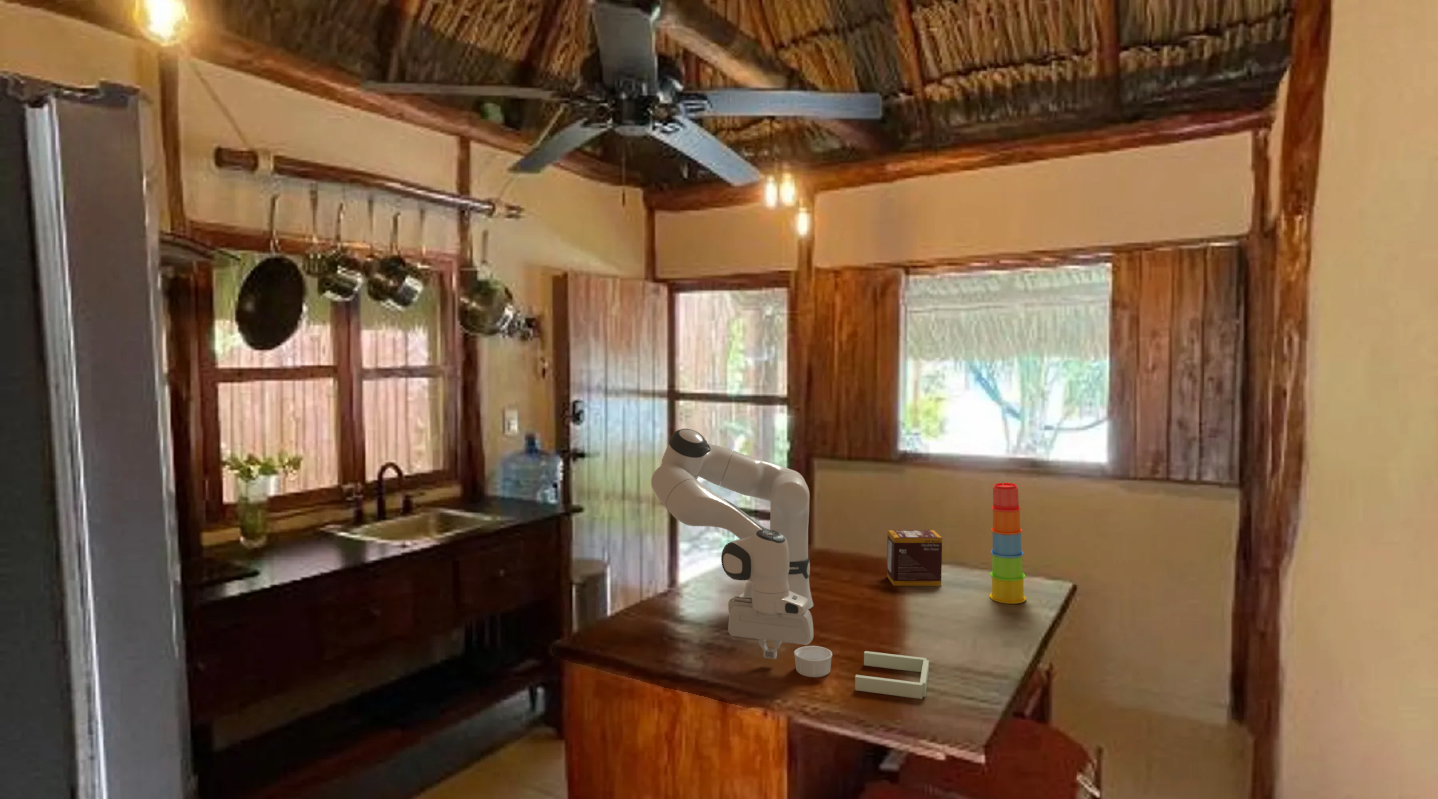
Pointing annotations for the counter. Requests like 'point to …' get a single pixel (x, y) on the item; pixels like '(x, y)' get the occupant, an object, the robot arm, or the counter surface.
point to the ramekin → (813, 661)
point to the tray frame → (891, 684)
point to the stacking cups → (1006, 546)
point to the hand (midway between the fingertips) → (770, 657)
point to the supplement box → (914, 557)
